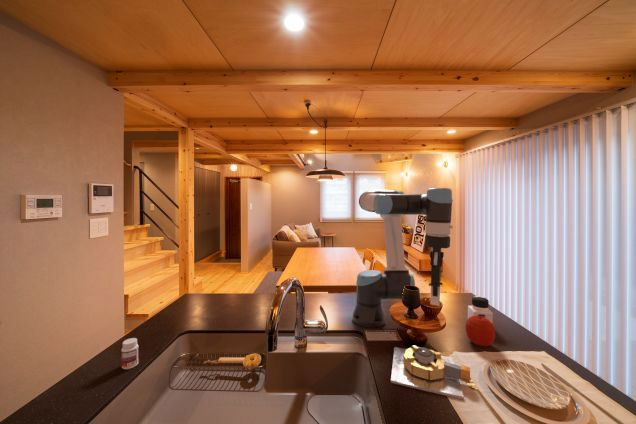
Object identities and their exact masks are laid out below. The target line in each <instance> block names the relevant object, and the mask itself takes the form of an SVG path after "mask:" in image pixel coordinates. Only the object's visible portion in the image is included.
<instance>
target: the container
mask: <svg viewBox="0 0 636 424" xmlns="http://www.w3.org/2000/svg"><path fill="white" fill-rule="evenodd" d="M489 305H490V301H489V299H487V298H486V297H484V296H478V295H476V296H475V295H474V296H473V297H471V305H467V320H468V319H469V318H470V317H472V316H474V315H478V316H480V315H481V316H483V317H485V318H487V319H488V320H489V321H490V322H491V323H492V324H493V325H494V321H493V320H494V313H493V312H492V311H491V310H490V309H489Z"/></svg>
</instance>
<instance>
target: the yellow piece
mask: <svg viewBox="0 0 636 424" xmlns="http://www.w3.org/2000/svg"><path fill="white" fill-rule="evenodd" d="M417 348H420V346H417V345H416V344H415V345H411V347H409V348H405V349H406V351H405V353H404V355H403V364H404V366H405V367H406V368H407V369H408V370H409V372H410V373H411V374H413V375H415V376H418V377H421V378H424V379H427V380H429V379H430V380H434V379H440V378H443V377H444V375H447V376H450V377H453V378H457V379H459V381H461V382H465V383H467V384H471V367H470V366H466V365H463V364H461V365H457V364H455V363H454V364H455V365H454V364H451V363H448V362H446V360H445V359H444V358H443V357H441V356H442V353H441V352H440V351H435V350H432V349H429V350H430V351H432V352H433V353H434V362H431V364H430V365H424V364H421V363H418V362H416V361H415V349H417Z"/></svg>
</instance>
